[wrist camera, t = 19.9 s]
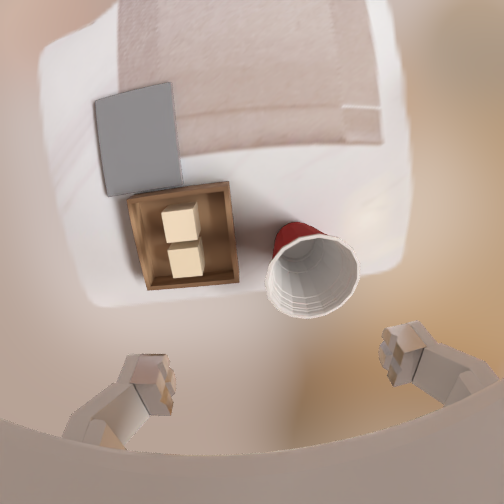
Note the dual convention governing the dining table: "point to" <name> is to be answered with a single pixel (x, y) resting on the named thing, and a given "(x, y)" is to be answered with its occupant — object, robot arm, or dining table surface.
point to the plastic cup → (310, 272)
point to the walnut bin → (212, 233)
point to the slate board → (139, 140)
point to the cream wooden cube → (181, 222)
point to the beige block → (187, 258)
